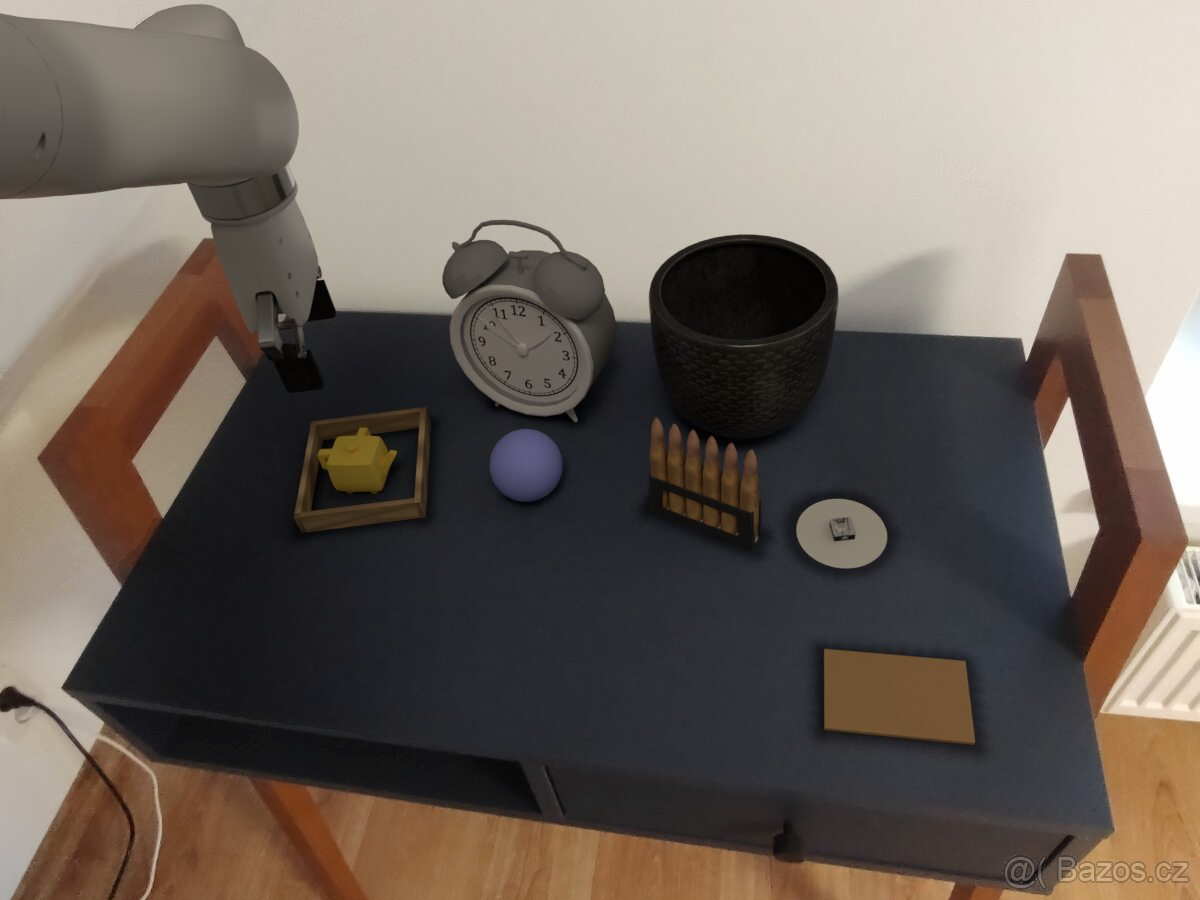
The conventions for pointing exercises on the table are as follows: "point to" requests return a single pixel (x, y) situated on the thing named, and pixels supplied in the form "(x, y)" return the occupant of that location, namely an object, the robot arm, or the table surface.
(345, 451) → the teapot
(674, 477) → the ammunition clip
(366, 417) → the wooden frame
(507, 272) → the alarm clock
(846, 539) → the white round disc
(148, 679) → the table surface
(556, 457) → the sphere
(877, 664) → the cork mat
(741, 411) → the planter
